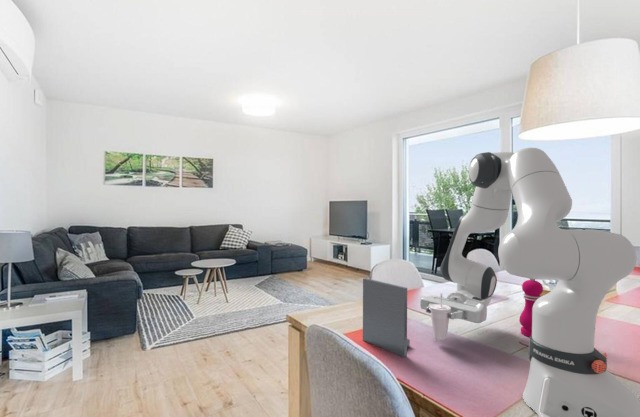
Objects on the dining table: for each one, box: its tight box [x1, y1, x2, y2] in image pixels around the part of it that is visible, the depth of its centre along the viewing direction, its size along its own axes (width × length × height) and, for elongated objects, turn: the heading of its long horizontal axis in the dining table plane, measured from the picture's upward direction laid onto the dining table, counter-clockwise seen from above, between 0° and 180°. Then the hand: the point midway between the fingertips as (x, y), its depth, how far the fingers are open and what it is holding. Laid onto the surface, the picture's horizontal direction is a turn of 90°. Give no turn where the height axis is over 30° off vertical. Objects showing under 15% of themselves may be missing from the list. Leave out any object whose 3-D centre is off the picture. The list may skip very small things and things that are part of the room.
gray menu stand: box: [362, 277, 411, 358], centre depth 105 cm, size 16×8×20 cm, turn 41°
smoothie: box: [430, 293, 451, 341], centre depth 105 cm, size 6×6×14 cm
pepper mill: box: [518, 279, 544, 338], centre depth 113 cm, size 7×7×20 cm
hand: (438, 313), depth 104 cm, fingers closed on smoothie, 6 cm apart
